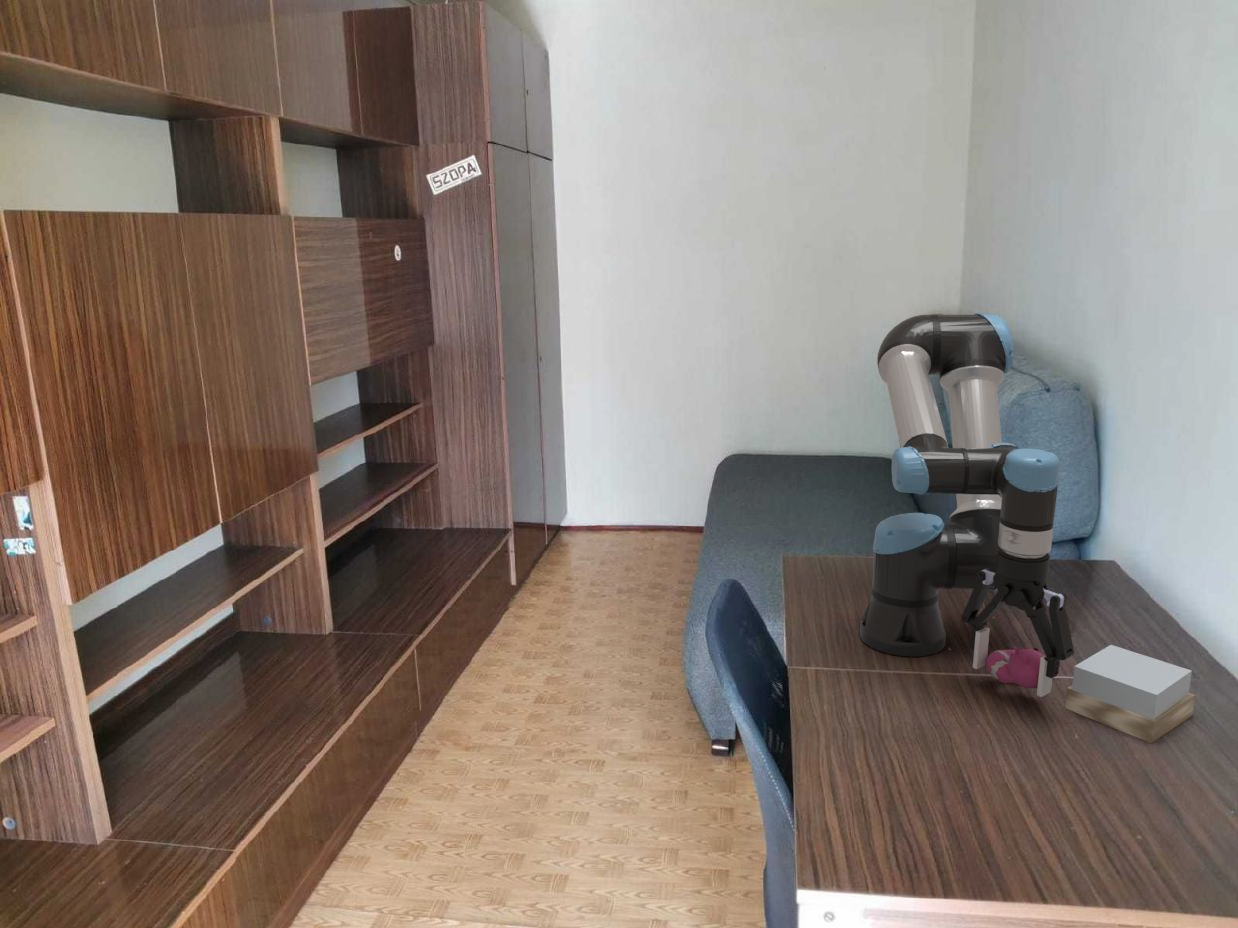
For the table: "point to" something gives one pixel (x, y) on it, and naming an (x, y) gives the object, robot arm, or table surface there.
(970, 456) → the robot arm
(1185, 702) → the lower slab
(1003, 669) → the toy
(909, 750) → the table surface
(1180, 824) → the table surface
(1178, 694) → the upper block
